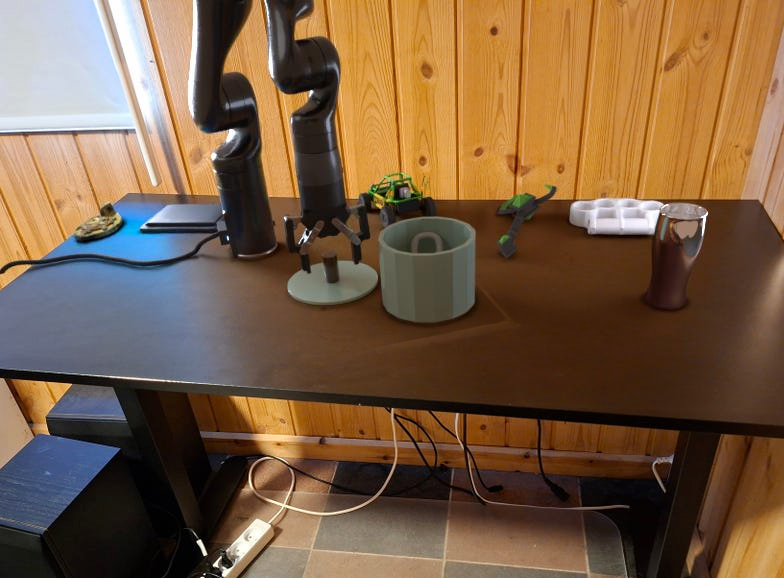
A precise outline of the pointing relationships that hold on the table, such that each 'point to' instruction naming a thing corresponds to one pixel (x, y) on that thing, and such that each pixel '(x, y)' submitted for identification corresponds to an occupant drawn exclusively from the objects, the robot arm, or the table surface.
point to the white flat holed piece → (616, 216)
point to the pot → (427, 269)
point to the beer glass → (674, 253)
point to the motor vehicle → (398, 199)
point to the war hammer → (520, 216)
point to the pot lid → (332, 282)
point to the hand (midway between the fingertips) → (332, 267)
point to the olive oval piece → (100, 224)
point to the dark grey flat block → (185, 218)
